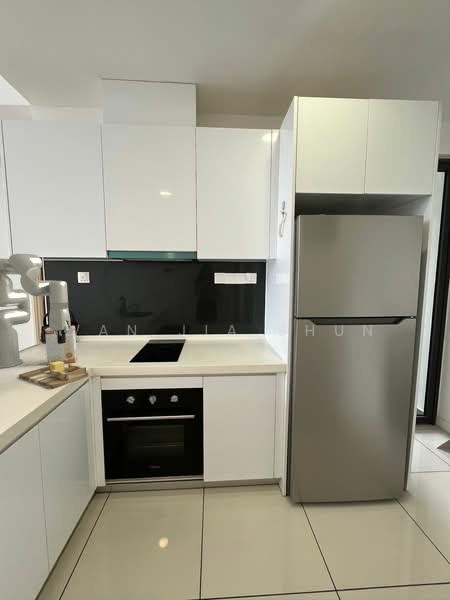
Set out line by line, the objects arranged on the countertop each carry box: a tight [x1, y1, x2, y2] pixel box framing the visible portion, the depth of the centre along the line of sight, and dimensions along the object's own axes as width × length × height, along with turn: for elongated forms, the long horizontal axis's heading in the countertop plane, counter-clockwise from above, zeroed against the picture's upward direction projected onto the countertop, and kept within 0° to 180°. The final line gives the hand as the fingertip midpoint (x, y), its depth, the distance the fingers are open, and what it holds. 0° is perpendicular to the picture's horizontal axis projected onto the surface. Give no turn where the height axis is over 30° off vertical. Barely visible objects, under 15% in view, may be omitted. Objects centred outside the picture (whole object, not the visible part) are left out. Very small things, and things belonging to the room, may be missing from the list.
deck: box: [18, 365, 89, 390], centre depth 133 cm, size 29×17×2 cm, turn 62°
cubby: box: [49, 363, 87, 381], centre depth 131 cm, size 13×10×3 cm
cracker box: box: [44, 325, 78, 366], centre depth 154 cm, size 14×6×21 cm, turn 108°
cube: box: [49, 361, 65, 372], centre depth 136 cm, size 4×4×4 cm
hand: (61, 343), depth 132 cm, fingers closed
